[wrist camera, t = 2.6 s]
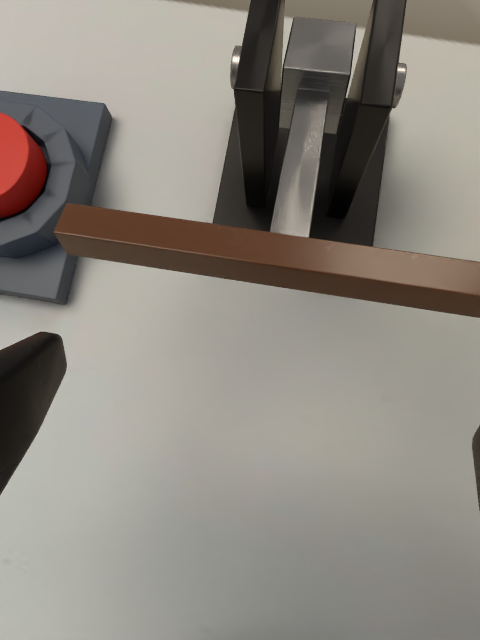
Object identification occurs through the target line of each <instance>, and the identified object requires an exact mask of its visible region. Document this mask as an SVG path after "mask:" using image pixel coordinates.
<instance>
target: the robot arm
mask: <svg viewBox="0 0 480 640" xmlns="http://www.w3.org/2000/svg"><path fill="white" fill-rule="evenodd" d="M66 368H67V362H66V356H65V351H64V346H63V341H62V338H61V336H60V335H58V334H54V333H48V332H39V333H37V334H34V335H32V336H30V337H28V338H26V339H24V340H21V341H19V342H17V343H15V344H13V345H11V346H9V347H6V348H4V349H2V350H0V495H1V493H2V491H3V490H4V488H5V486H6V485H7V483H8V481H9V480H10V478H11V476H12V475H13V473H14V471H15V470H16V468H17V467H18V465H19V463H20V462H21V460H22V458H23V457H24V455H25V453H26V452H27V450H28V448H29V447H30V445H31V443H32V442H33V440H34V438H35V436H36V435H37V433H38V431H39V429H40V427H41V425H42V423H43V421H44V418H45V416H46V414H47V412H48V410H49V408H50V405H51V403H52V401H53V399H54V397H55V395H56V392H57V390H58V388H59V386H60V384H61V381H62V379H63V377H64V375H65V372H66ZM472 450H473V458H474V467H475V476H476V484H477V493H478V502H479V509H480V426H479V427H478V429H477V431H476V433H475V434H474V437H473V441H472Z"/></svg>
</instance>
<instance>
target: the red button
mask: <svg viewBox="0 0 480 640" xmlns="http://www.w3.org/2000/svg"><path fill="white" fill-rule="evenodd" d="M46 175H47V165H46V160H45V156H44V154H43V152H42V150H41V148H40V147H39V146H38V144H37V143H36V142H35V141H34V140H33V139H32V138H31V136H30V135H29V134H28V133H27V132H26V131H25V130H24V129H23V127H22V126H21V125H20V124H19V123H18V122H17V121H16V120H14V119H13V118H12V117H10V116H8V115H6V114H3V113H0V218H3V217H8V216H11V215H14V214H17V213H19V212H21V211H22V210H24V209H25V208H27V207H28V206H29V205H30V204H31V203H32V202H33V201H34V200H35V199H36V198H37V197H38V195H39V194H40V192H41V190H42V188H43V186H44V183H45V180H46Z"/></svg>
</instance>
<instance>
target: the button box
mask: <svg viewBox="0 0 480 640" xmlns="http://www.w3.org/2000/svg"><path fill="white" fill-rule="evenodd" d="M0 113H3V114H6V115H8V116H10V117H12V118H13V119H14V120H16V121H17V122H18V123H19V124H20V125H21V126H22V127H23V129H24V130H25V131H26V132H27V133H28V134H29V135H30V136H31V138H32V139H33V140H34V141H35V142H36V143H37V144H38V146H39V147H40V148H41V150H42V152H43V154H44V156H45V160H46V165H47V175H46V180H45V183H44V186H43V188H42V190H41V192H40V194H39V195H38V197H37V198H36V199H35V200H34V201H33V202H32V203H31V204H30V205H29V206H28V207H27V208H25V209H24V210H22V211H21V212H19V213H17V214H14V215H11V216H8V217H3V218H0V294H4V295H11V296H17V297H23V298H29V299H35V300H41V301H47V302H53V303H59V304H66V302H67V298H68V294H69V290H70V286H71V282H72V278H73V274H74V270H75V266H76V262H77V258H78V256H75V255H69V254H66V252H65V250H64V249H63V247H62V246H61V244H60V242H59V241H58V239H57V238H56V236H55V234H54V230H55V227H56V225H57V223H58V221H59V219H60V216H61V214H62V212H63V210H64V207H65V205H66V203H72V204H79V205H86V206H90V205H91V200H92V196H93V192H94V188H95V184H96V180H97V176H98V172H99V168H100V164H101V160H102V156H103V152H104V147H105V143H106V139H107V135H108V131H109V127H110V123H111V119H112V116H111V114H110V112H109V110H108V109H107V107H106V105H105V104H104V103H97V102H88V101H80V100H72V99H64V98H56V97H47V96H39V95H31V94H23V93H15V92H7V91H0Z"/></svg>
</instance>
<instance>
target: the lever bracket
mask: <svg viewBox="0 0 480 640" xmlns="http://www.w3.org/2000/svg"><path fill="white" fill-rule="evenodd" d="M406 1H407V0H373V4H372V8H371V11H370V15H369V19H368V23H367V26H366V30H365V34H364V38H363V41H362V45H361V49H360V53H359V56H358V60H357V64H356V68H355V72H354V75H353V79H352V83H351V87H350V90H349V94H348V98H345V102H344V106H343V111H342V115H341V119H340V124H339V128H338V132H337V134H328V133H324V136H323V143H322V150H321V157H320V164H319V171H318V178H317V185H316V192H315V199H314V206H313V213H312V220H311V227H310V234H309V238H315V239H322V240H329V241H336V242H343V243H350V244H357V245H364V246H371V247H373V239H374V231H375V224H376V216H377V208H378V201H379V193H380V185H381V178H382V170H383V162H384V155H385V147H386V139H387V132H388V124H389V116H390V112H391V110H392V108H396V106H397V105H398V103H399V100H400V98H401V95H402V91H403V87H404V83H405V78H406V70H407V67H406V64H404V63H399V55H400V47H401V39H402V32H403V23H404V16H405V8H406ZM284 3H285V0H251V4H250V8H249V13H248V18H247V23H246V28H245V33H244V38H243V43H242V46H235V48H234V50H233V54H232V60H231V72H230V81H231V87H232V89H234V97H235V111H234V116H233V121H232V126H231V131H230V137H229V142H228V147H227V152H226V157H225V162H224V167H223V172H222V178H221V183H220V188H219V193H218V198H217V203H216V208H215V214H214V219H213V224H218V225H225V226H232V227H239V228H246V229H253V230H260V231H267V232H270V228H271V223H272V218H273V213H274V207H275V202H276V197H277V192H278V187H279V181H280V176H281V171H282V166H283V160H284V155H285V150H286V145H287V139H288V134H289V129H287V128H279V127H278V119H279V107H280V94H281V70H282V48H283V25H284Z"/></svg>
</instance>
